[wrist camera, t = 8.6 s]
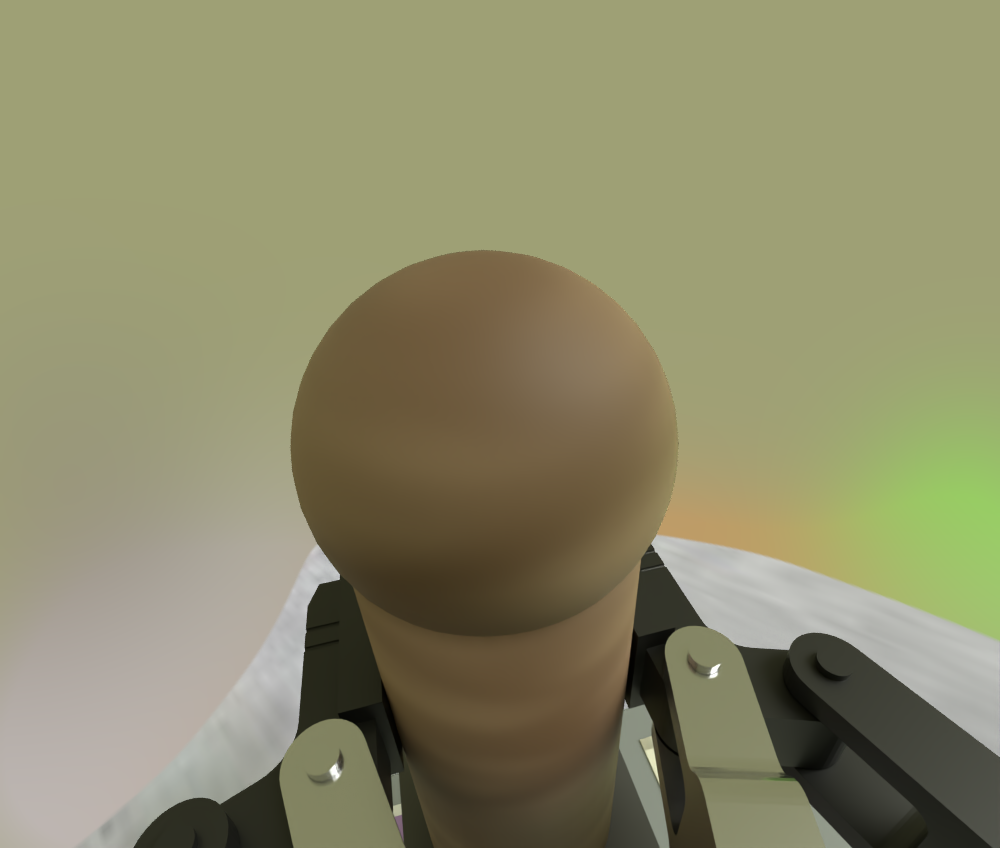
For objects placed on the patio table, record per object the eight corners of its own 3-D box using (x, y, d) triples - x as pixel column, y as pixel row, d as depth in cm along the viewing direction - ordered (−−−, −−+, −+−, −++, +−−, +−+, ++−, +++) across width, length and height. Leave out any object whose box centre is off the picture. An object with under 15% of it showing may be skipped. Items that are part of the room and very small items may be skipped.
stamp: (425, 1017, 11) (101, 440, 3) (403, 743, 16) (247, 232, 8) (674, 927, 12) (891, 308, 4) (584, 694, 17) (606, 192, 9)
